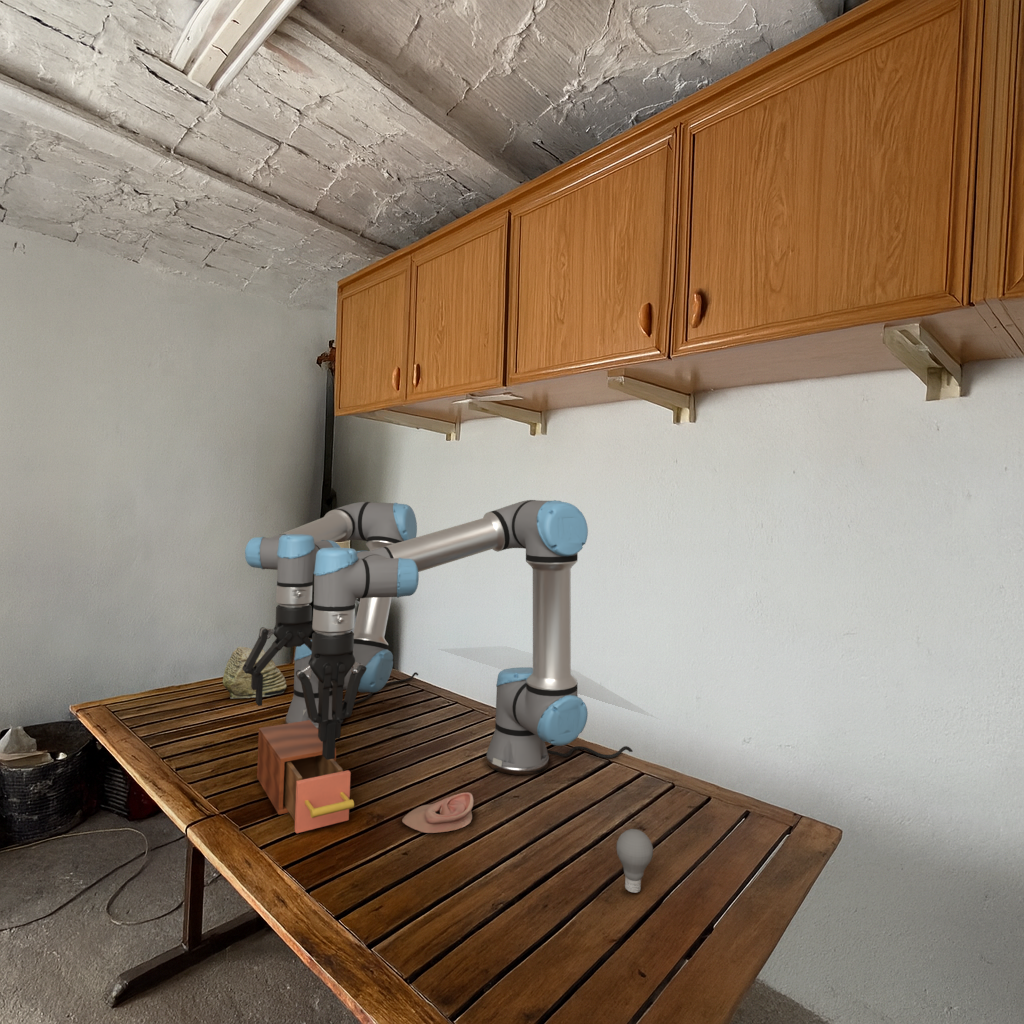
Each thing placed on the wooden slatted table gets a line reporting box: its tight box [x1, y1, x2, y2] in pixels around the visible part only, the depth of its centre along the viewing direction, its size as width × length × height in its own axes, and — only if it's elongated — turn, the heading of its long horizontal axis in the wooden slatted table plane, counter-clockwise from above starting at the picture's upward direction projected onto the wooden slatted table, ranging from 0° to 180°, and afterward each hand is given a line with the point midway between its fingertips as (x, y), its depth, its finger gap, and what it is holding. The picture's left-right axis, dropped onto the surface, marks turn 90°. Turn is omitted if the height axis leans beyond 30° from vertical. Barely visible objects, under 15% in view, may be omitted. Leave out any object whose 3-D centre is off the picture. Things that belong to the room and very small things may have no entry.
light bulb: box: [615, 828, 654, 894], centre depth 106 cm, size 6×6×10 cm
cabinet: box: [256, 720, 337, 815], centre depth 136 cm, size 19×11×11 cm, turn 34°
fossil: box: [222, 646, 288, 699], centre depth 198 cm, size 9×18×15 cm, turn 132°
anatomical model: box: [401, 791, 474, 834], centre depth 126 cm, size 13×4×12 cm
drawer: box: [283, 755, 355, 834], centre depth 125 cm, size 23×10×9 cm, turn 34°
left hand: (290, 699), depth 141 cm, fingers open, 13 cm apart
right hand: (328, 756), depth 118 cm, fingers closed
